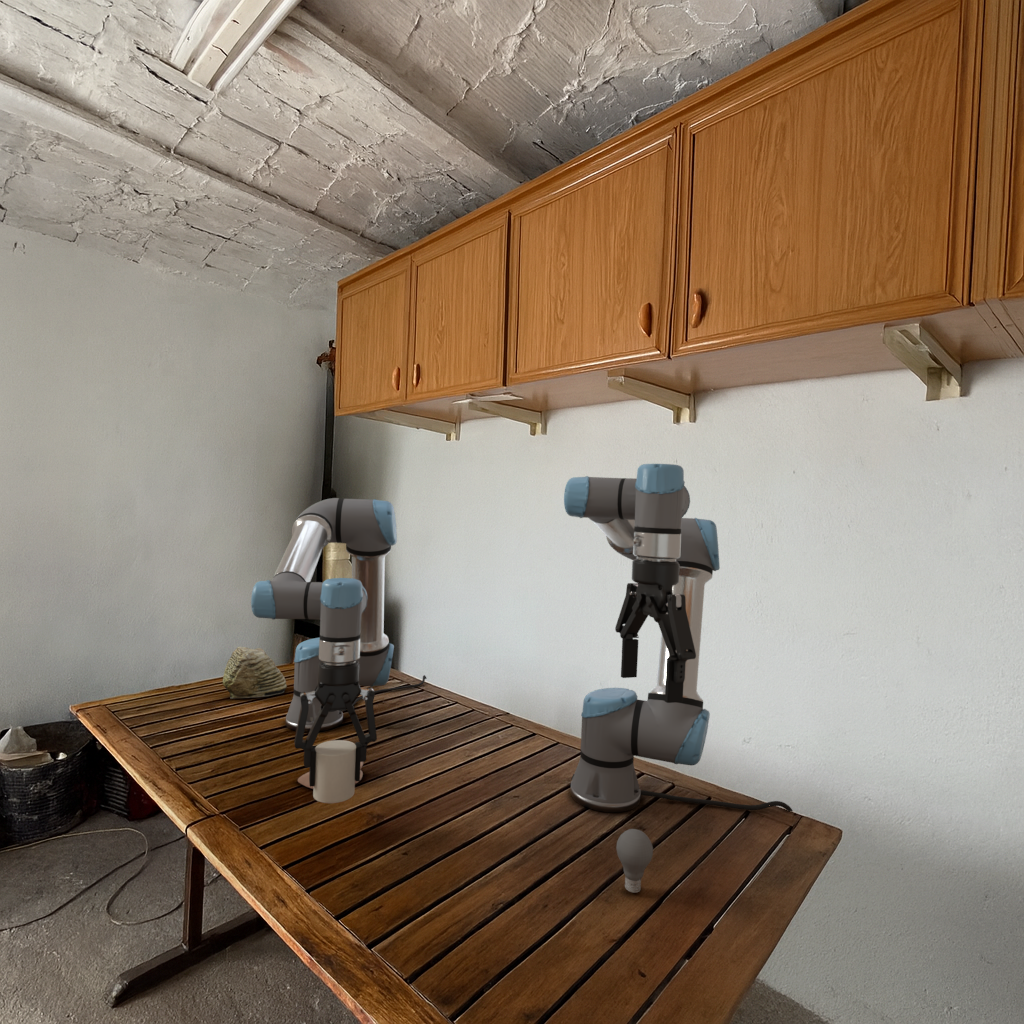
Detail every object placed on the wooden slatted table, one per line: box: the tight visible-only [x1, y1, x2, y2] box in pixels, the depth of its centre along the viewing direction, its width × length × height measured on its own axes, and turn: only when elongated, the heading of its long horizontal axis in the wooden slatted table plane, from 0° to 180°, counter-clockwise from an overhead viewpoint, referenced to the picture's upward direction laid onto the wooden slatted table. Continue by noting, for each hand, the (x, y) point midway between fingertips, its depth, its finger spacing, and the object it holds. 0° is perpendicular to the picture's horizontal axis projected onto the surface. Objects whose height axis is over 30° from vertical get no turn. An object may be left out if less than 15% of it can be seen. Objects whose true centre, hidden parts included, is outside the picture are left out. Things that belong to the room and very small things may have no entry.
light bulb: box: [615, 828, 654, 894], centre depth 106 cm, size 6×6×10 cm
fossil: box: [222, 646, 288, 699], centre depth 198 cm, size 9×18×15 cm, turn 132°
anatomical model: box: [297, 762, 364, 790], centre depth 142 cm, size 13×4×12 cm
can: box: [312, 739, 356, 804], centre depth 120 cm, size 8×8×9 cm
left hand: (334, 780), depth 120 cm, fingers closed on can, 8 cm apart
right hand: (649, 688), depth 103 cm, fingers open, 13 cm apart
